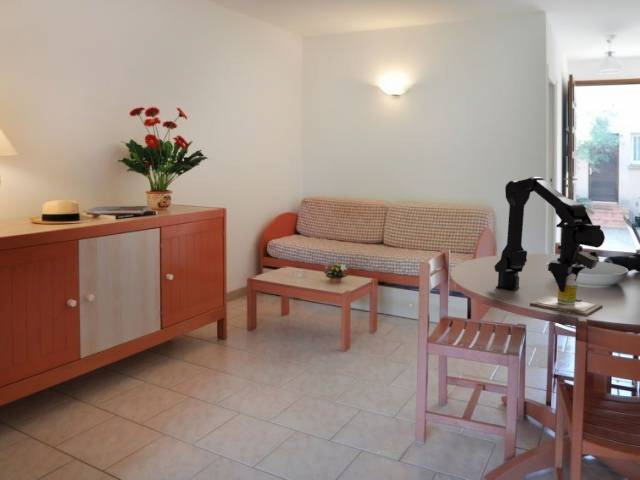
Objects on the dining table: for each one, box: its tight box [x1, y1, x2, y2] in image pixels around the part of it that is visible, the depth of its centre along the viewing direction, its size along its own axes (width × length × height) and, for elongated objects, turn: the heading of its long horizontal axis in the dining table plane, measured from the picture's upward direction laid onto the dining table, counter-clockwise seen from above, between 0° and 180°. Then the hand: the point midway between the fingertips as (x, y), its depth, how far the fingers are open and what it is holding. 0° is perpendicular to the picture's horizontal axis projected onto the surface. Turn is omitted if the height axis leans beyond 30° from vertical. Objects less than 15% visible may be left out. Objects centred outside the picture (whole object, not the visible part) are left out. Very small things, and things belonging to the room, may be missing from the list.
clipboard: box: [529, 294, 603, 317], centre depth 183 cm, size 18×14×2 cm
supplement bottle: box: [557, 273, 578, 305], centre depth 182 cm, size 5×5×10 cm
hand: (566, 289), depth 182 cm, fingers open, 7 cm apart
